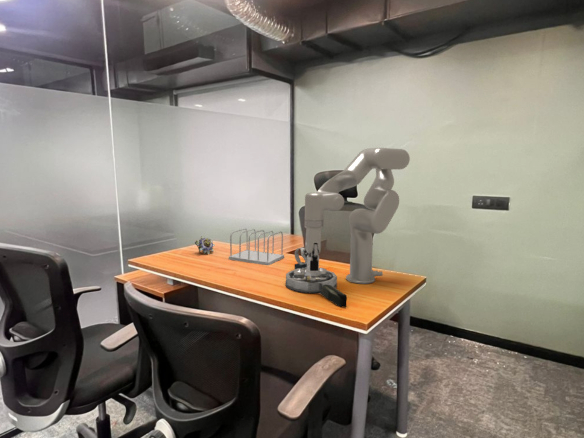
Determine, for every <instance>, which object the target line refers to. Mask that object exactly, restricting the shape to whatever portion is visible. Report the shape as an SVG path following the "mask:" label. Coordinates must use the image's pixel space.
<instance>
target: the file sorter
mask: <svg viewBox="0 0 584 438" xmlns="http://www.w3.org/2000/svg"><path fill="white" fill-rule="evenodd" d="M251 231H252V232H251ZM238 232H240V234H239V248H238V249H239V252H237V253H235V254H233V251H232V245H233V244H232V236H233V234H234V233H238ZM248 232H250V233H248ZM260 232H262V233H260ZM243 233H246V244H245V245H246V250H241V247H242V245H241V241H242V235H243ZM257 233H259V234H258V236H257ZM270 233H271V234H270ZM252 234H254V250H251V248H250V247H251V240H250V239H251V235H252ZM266 234H269V235H268V236H267V248H266V247H265V245H266ZM277 234H281V247H280V249H281V254H279V253H274V245H275V244H274V243H275V235H277ZM262 235H263V251H260V236H262ZM271 236H272V246H271V247H272V251H271V252H272V253H271V252H270V251H269V248H270V247H269V246H270V245H269V243H270V238H271ZM229 242H230V247H229V248H230V253H229V254H230V255H229V256H228V260H231V261H236V262H243V263H250V264H257V265H263V266H271V265H272V264H275V263H277V262H279V261H281V260H282V259H285V255H284V253H283V248H284V246H283V245H284V243H283V242H284V234H283V232H282V231H277V232H274V231H273V230H270V231H269V230H268V231H265V230H264V229H260V230H256V229H254V228H252V229H247V228H246V227H245V228H241V229H236V230H232V231H231V233H230V237H229ZM266 249H267V251H266V252H265V250H266Z"/></svg>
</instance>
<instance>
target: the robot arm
mask: <svg viewBox="0 0 584 438" xmlns="http://www.w3.org/2000/svg"><path fill="white" fill-rule="evenodd" d="M410 161H411V157H410V153H408V151H406V150H405V149H402V148H391V147H389V148H387V147H371V148H364V149H362V150H361V151H360V152H359V153H357V155H356V156H355V157H354V159H352V160H351V161H350V163H349V164H348V165H347V166H346V167H345V168H344V169H343V170H342V171H341V172H339V173H336V175H334V176H333V177H331V178H330V179H328V180H327V181H326V182H324V183H323V184H322V185H321V186H320V187H319V189H318V190H317V191H316V192H308V193H306V194H305V195H304V197H305V198H304V228H305V229H306V230H305V242H304V243H305V244H304V248H305V249H306V251H307V252H308V253H309V254H308V255H311V261H310V271H318V255H319V254H321V250H322V249H321V248H322V241H321V240H322V236H321V235H322V232H321V231H322V229H324V217H325V216H324V215H325V212H326V211H329V212H337V211H340V210H341V209H342V208H343V207H344V206H345V205H344V204H345V198H344V197H343V195H341V194H340V192H342V191H346V190H348V189H351V188H353V187H357V186H358V185H359V184H360V183H361V182H362V181H363V180H365V178H366V177H367V175H368V174H369V173H370V171H372V170H374V169H375V178H374V180H373V182H372V184H371V186H370V187H369V189H368V190H367V192H366V194H365V195H364V198H363V205H364V206H365V208H356V209H354V210H353V211H351V213H350V214H349V218H348V223H349V230H350V252H349V253H350V254H349V255H350V256H349V260H350V261H349V274H347V275H345V279H346V280H347V281H348V282H350V283H353V284H361V285H362V284H363V285H367V284H373V283H374V282H376V277H383V274H384V273H383V271H378V270H373V251H374V250H373V247H374V241H373V240H374V239H373V234H377V235H378V234H379V235H380V234H382V233H383V232H384V231H385V230H386V229H387V227H388V226H389V224H390V222H391V221H392V219H393V217H394V215H395V214H396V212H397V211H398V207H399V205H400V196H399V194H398V192H396V190H394V189H393V187H394V185H395V178H394V174H393V171H392V170H403V169H406V168H407V166H408V165H409V164H410Z"/></svg>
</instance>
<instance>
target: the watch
mask: <svg viewBox="0 0 584 438" xmlns="http://www.w3.org/2000/svg"><path fill="white" fill-rule="evenodd" d="M299 250H300V251H299ZM299 252H300V254H301V257H302V258H303V260H304V262H303V261H301V258H300V254H299ZM308 254H309V253H308V252H307V251H306V249H305V247H298V248H296V249H295V251H294V258H295V261H296V262H297V263H294V269H297V268H301V269H302V268H307V255H308Z"/></svg>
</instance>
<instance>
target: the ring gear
mask: <svg viewBox="0 0 584 438" xmlns="http://www.w3.org/2000/svg"><path fill="white" fill-rule="evenodd" d="M302 269H304V270H305V269H307V268H302ZM326 270H327V269H326ZM326 275H327V276H328V279H331V280H327V281H323V282H303V281H297V280H295V279H292V276H294V269H292V270H290V271H288V272H287V273H286V274H285V283H286V282H287V285H288V286H291V287H293V288H295V289H301V290H307V291H313V290H322V286H323V285H326V284H327V285H331V286H333V287H334V286H335V285H336V284H337V285H338V276H337V275H336V274H335V272H334V271H330V270H327V272H326ZM305 276H308V275H306V274H305Z"/></svg>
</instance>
